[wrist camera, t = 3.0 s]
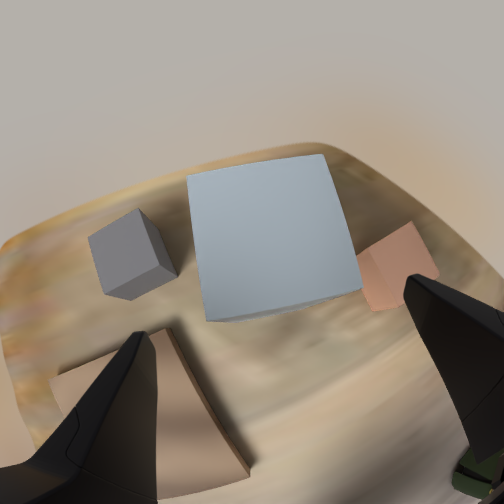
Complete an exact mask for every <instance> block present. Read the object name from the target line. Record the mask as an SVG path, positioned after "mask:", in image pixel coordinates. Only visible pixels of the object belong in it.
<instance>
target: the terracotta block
mask: <svg viewBox="0 0 504 504" xmlns="http://www.w3.org/2000/svg"><path fill="white" fill-rule="evenodd" d="M356 258H357V262H358V266H359V269H360V273H361V277H362V281H363V286H364V288H362V289H361V290H362V292H363V294H364V296H365V298H366V300H367V302H368V303H369V305H370V307H371V309H372V311H379V310H386V309H392V308H398V307H400V306H401V305H402V304H404V303H405V301H404V298H403V292H404V288H405V283H406V279H407V277H408V276H409V275H412V274H416V273H418V274H421V275H423V276H425V277H428V278H430V279H432V280H434V279H435V278H437V277H438V276H439V275H440V273H439V271H438V269H437V267H436V265H435V263H434V261H433V259H432V257H431V255H430V253H429V251H428V249H427V247H426V246H425V244H424V242H423V240H422V238H421V236H420V235H419V233H418V231H417V229H416V228H415V226H414V224H413V223H412V221H410V222H409V223H407V224H406V225H404V226H402V227H401V228H399V229H398V230H396V231H394V232H393V233H391V234H389V235H388V236H386V237H385V238H383V239H381V240H380V241H378V242H376V243H375V244H373V245H371V246H370V247H368V248H366V249H365V250H364V251H362V252H361V253H360V254H358V255H357V256H356Z"/></svg>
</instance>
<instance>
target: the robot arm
mask: <svg viewBox="0 0 504 504" xmlns="http://www.w3.org/2000/svg"><path fill="white" fill-rule="evenodd" d="M403 298H404V301H405V303H406V306H407V308H408V310H409V312H410V314H411V317H412V319H413V321H414V323H415V326H416V328H417V330H418V332H419V334H420V336H421V338H422V340H423V342H424V344H425V346H426V348H427V349H428V351H429V353H430V355H431V357H432V359H433V361H434V363H435V365H436V367H437V369H438V371H439V373H440V375H441V377H442V379H443V381H444V383H445V385H446V388H447V390H448V392H449V394H450V396H451V399H452V401H453V403H454V405H455V408H456V410H457V413H458V415H459V417H460V420H461V422H462V425H463V428H464V430H465V433H466V435H467V438H468V441H469V444H470V446H471V449H472V452H473V455H474V458H475V461H476V463H477V465H478V464H480V463H482V462H483V461H485V460H486V459H488V458H490V457H491V456H493V455H494V454H496V453H497V452H499V451H500V450H502V449H503V448H504V313H503V312H501V311H499V310H497V309H495V308H493V307H491V306H489V305H487V304H485V303H483V302H481V301H479V300H476V299H474V298H472V297H470V296H468V295H466V294H463V293H461V292H459V291H457V290H455V289H452V288H450V287H448V286H446V285H444V284H441V283H439V282H437V281H434V280H432V279H430V278H428V277H425V276H423V275H421V274H418V273H416V274H412V275H409V276H408V277H407V279H406V283H405V288H404V292H403ZM157 402H158V385H157V363H156V350H155V347H154V345H153V343H152V341H151V340H150V338H149V336H148V334H147V333H146V332H145V331H138V332H133V333H132V334H131V336H130V337H129V338H128V339H127V340H126V342H125V343H124V344H123V345H122V346H121V348H120V349H119V350H118V351H117V353H116V354H115V355H114V356H113V358H112V359H111V360H110V361H109V363H108V364H107V365H106V366H105V368H104V369H103V370H102V371H101V373H100V374H99V375H98V376H97V378H96V379H95V380H94V381H93V383H92V384H91V385H90V387H89V388H88V389H87V390H86V392H85V393H84V394H83V396H82V397H81V398H80V400H79V401H78V402H77V404H76V406H74V407H73V409H72V410H71V411H70V413H69V414H68V415H67V417H66V418H65V419H64V420H63V422H62V423H61V424H60V425H59V427H58V428H57V429H56V430H55V431H54V432H53V434H52V435H51V436H50V437H49V438H48V439H47V440H46V441H45V443H44V444H43V445H42V446H41V447H40V448H39V449H38V450H37V452H36V453H35V454H34V455H33V456H32V457H31V458H30V459H28V460H27V461H25V462H23V463H20V464H17V465H12V466H8V467H3V468H0V504H158V501H157V478H156V428H157ZM491 485H492V487H493V490H494V491H493V492H491V493H490V494H489V495H488V496H487V497H485V498H484V499H483V500H482V501H480V502H479V503H478V504H504V453H503V454H502V455H501V456H500V457H499V459H498V463H497V466H496V470H495V473H494V477H493V480H492V483H491Z"/></svg>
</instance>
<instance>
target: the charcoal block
mask: <svg viewBox="0 0 504 504" xmlns="http://www.w3.org/2000/svg"><path fill="white" fill-rule="evenodd" d="M88 240H89V244H90V248H91V252H92V256H93V259H94V263H95V266H96V270H97V273H98V277H99V280H100V283H101V286H102V289H103V292H104V294H105V295H109V296H113V297H117V298H121V299H126V300H130V301H131V300H133V299H135V298H137V297H139V296H141V295H143V294H145V293H147V292H149V291H151V290H153V289H155V288H157V287H159V286H161V285H163V284H165V283H167V282H169V281H171V280H173V279H175V278H177V277H178V276H177V273H176V271H175V269H174V266H173V264H172V262H171V259H170V257H169V255H168V252H167V250H166V247H165V245H164V242H163V240H162V237H161V235H160V232H159V230H158V228H157V227H156V226H155V225H154V224H153V223H152V222H151V221H150V220H149V219H148V218H147V217H146V216H145V215H144V214H143V212H142V211H141V210H140V209H139V208H137V209H135V210H134V211H132V212H130V213H128V214H126V215H125V216H123V217H121V218H119V219H118V220H116V221H114V222H112V223H111V224H109V225H107V226H106V227H104V228H102V229H101V230H99V231H97V232H96V233H94V234H92V235H91V236H89V237H88Z"/></svg>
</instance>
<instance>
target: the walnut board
mask: <svg viewBox="0 0 504 504" xmlns="http://www.w3.org/2000/svg"><path fill="white" fill-rule="evenodd" d="M149 338H150V340H151V341H152V343H153V345H154V347H155V350H156V363H157V385H158V402H157V428H156V478H157V500H160V499H167V498H173V497H178V496H183V495H188V494H193V493H197V492H201V491H206V490H210V489H213V488H217V487H221V486H224V485H228V484H231V483H234V482H237V481H240V480H243V479H246V478H249V477H250V468H249V467H248V465H247V464H246V462H245V461H244V460H243V458H242V457H241V455H240V454H239V452H238V451H237V449H236V448H235V446H234V444H233V443H232V441H231V440H230V438H229V437H228V435H227V433H226V432H225V430H224V429H223V427H222V425H221V424H220V422H219V420H218V419H217V417H216V415H215V413H214V412H213V410H212V408H211V407H210V405H209V403H208V401H207V400H206V398H205V396H204V394H203V392H202V391H201V389H200V387H199V385H198V383H197V381H196V379H195V377H194V376H193V374H192V372H191V370H190V368H189V366H188V364H187V362H186V360H185V358H184V356H183V354H182V352H181V350H180V348H179V346H178V344H177V342H176V339H175V337H174V335H173V333H172V331H171V329H170V328H165V329H163V330H160V331H158V332H156V333H154V334H152V335H150V336H149ZM117 351H118V350H116V351H114V352H112V353H110V354H107V355H105V356H103V357H100V358H98V359H96V360H94V361H91V362H89V363H87V364H84V365H82V366H80V367H77V368H75V369H72V370H70V371H68V372H65V373H63V374H60V375H58V376H56V377H53V378H51V379H48V382H49V385H50V387H51V390H52V392H53V394H54V397H55V399H56V401H57V403H58V406H59V408H60V410H61V412H62V414H63V416H64V418H66V417H67V415H68V414H69V413H70V411H71V410H72V409H73V407H74V406H76V404H77V402H78V401H79V400H80V398H81V397H82V396H83V394H84V393H85V392H86V390H87V389H88V388H89V387H90V385H91V384H92V383H93V381H94V380H95V379H96V378H97V376H98V375H99V374H100V373H101V371H102V370H103V369H104V368H105V366H106V365H107V364H108V363H109V361H110V360H111V359H112V358H113V356H114V355H115V354H116V353H117Z"/></svg>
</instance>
